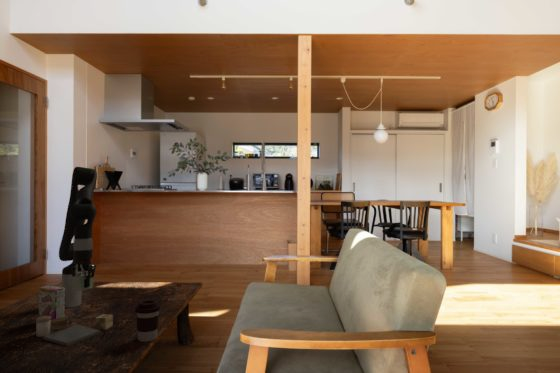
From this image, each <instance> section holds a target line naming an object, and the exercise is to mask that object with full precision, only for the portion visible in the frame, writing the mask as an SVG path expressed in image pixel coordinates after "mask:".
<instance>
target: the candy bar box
mask: <svg viewBox="0 0 560 373" xmlns="http://www.w3.org/2000/svg"><path fill="white" fill-rule="evenodd" d="M65 309H66V308H65V288H62V286H61V287H60V286H52V285H46V286H41V287H38V317H41V316H51V320H53V319H58V318H63V317H65V318H66V314H65V313H66V310H65Z"/></svg>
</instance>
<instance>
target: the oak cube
mask: <svg viewBox="0 0 560 373" xmlns="http://www.w3.org/2000/svg"><path fill="white" fill-rule="evenodd" d="M113 320H114V315H113V314H109V313H108V314H104V313H102V314H100V315H99V316H96V317H95V328H94V329H97V330H101V331H102V330H104V331H105V330H108V329H109V328H112V327H113V325H114V324H113V322H114V321H113Z"/></svg>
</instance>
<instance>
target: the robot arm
mask: <svg viewBox="0 0 560 373" xmlns="http://www.w3.org/2000/svg"><path fill="white" fill-rule="evenodd" d="M71 175H72V177H71V185H70V194H69V200H68V205H67V211H66V214H65V215H66V216H65V222H64V229H63V234H62V237H61V241H60V245H59V248H58V249H59V250H58V257H59V260H60V261H61V262H69V261H72V262H71V263H70V264H68V265H66V266H64V267H63V268H62V270H61V287H62V288H65V309H68V308H69V309H70V308H75V307H78V306H80V305H82V295H83V294H82V291H83V290H82V291H74V290H72V276H78V275H82V274H83V275H84V279H85V280H84V288H88V287H89V286H90V278H92V277H93V278H94V277H95V272H96V268H97V264H92V261H91V260H92V259H93V248H94V247H93V245H94V244H93V226H94V221H95V218H96V216H97V212H98V210H97V207H96V205H95V204H93V201H94V200H93V199H94V192H95V189H96V185H97V184H96V183H97V179H98V172H97V170H96V169H94V168H89V167H82V166H75V167H74V168H73V170H72V174H71ZM79 186H83V187H81V188H79ZM86 220H87V221H86ZM73 238H74V239H73ZM72 240H73V242H72ZM86 274H88V275H86ZM90 274H91V275H90Z"/></svg>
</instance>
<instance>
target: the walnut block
mask: <svg viewBox="0 0 560 373" xmlns="http://www.w3.org/2000/svg"><path fill="white" fill-rule="evenodd" d="M67 323H68V320H67V318H66V316H65V317H63V318H58V319H53V320H51V321H50V333H51V332H52V333H53V332H55V331H56V332H57V331H61V330H64V329H67V328H68V327H67V326H68V324H67Z"/></svg>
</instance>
